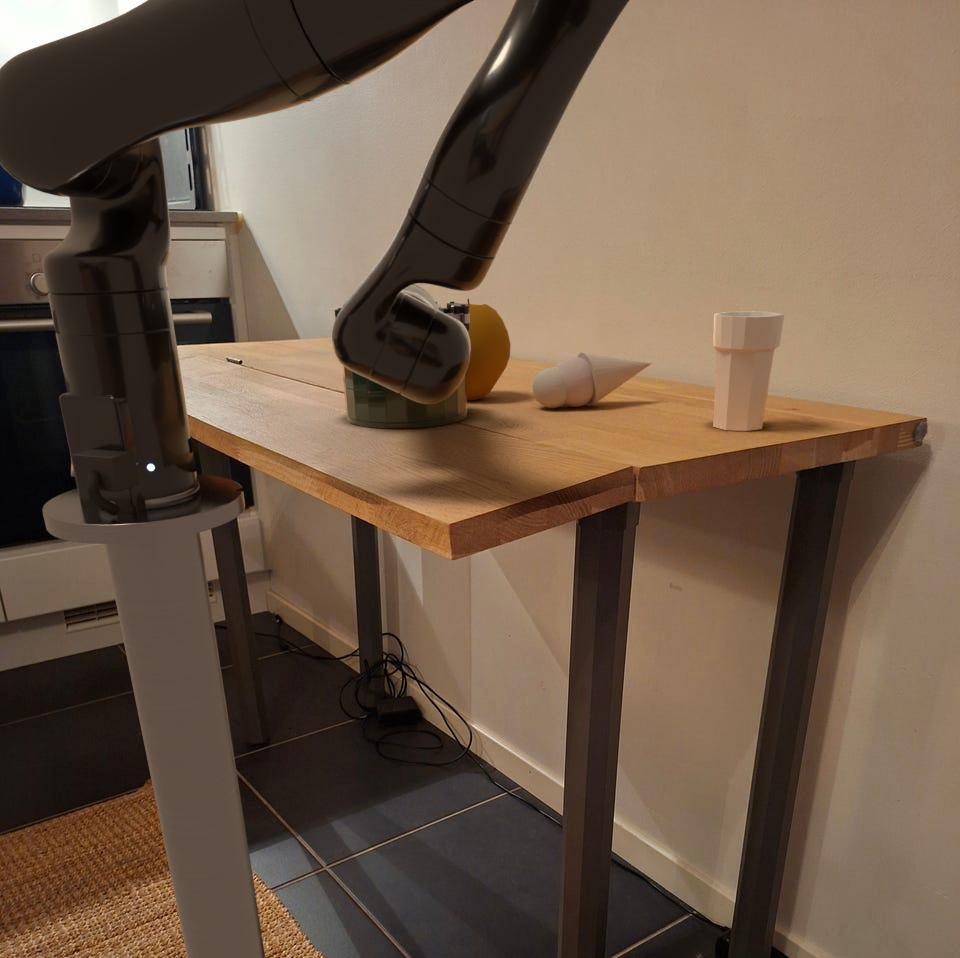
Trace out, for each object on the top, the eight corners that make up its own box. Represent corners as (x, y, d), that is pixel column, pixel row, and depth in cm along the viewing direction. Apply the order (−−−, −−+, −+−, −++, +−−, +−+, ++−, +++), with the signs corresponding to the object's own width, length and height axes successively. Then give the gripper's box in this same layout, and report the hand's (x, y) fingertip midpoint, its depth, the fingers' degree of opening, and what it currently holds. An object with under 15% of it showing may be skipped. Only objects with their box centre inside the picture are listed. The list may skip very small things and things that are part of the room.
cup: (693, 427, 94) (702, 315, 89) (724, 417, 98) (734, 310, 94) (752, 435, 90) (764, 318, 85) (782, 424, 94) (795, 313, 90)
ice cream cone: (657, 399, 108) (540, 429, 106) (637, 362, 111) (522, 390, 108) (668, 363, 103) (545, 394, 100) (647, 325, 105) (526, 354, 103)
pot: (436, 431, 94) (433, 362, 92) (324, 424, 99) (318, 358, 96) (485, 409, 106) (484, 347, 103) (382, 404, 111) (378, 344, 108)
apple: (525, 396, 114) (526, 297, 109) (475, 407, 107) (472, 302, 103) (468, 389, 120) (466, 295, 115) (417, 399, 113) (412, 299, 108)
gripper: (477, 281, 84) (466, 275, 99) (322, 286, 83) (334, 279, 98) (479, 364, 87) (468, 346, 102) (329, 370, 86) (340, 350, 102)
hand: (402, 313), depth 100 cm, fingers closed on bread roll, 5 cm apart
